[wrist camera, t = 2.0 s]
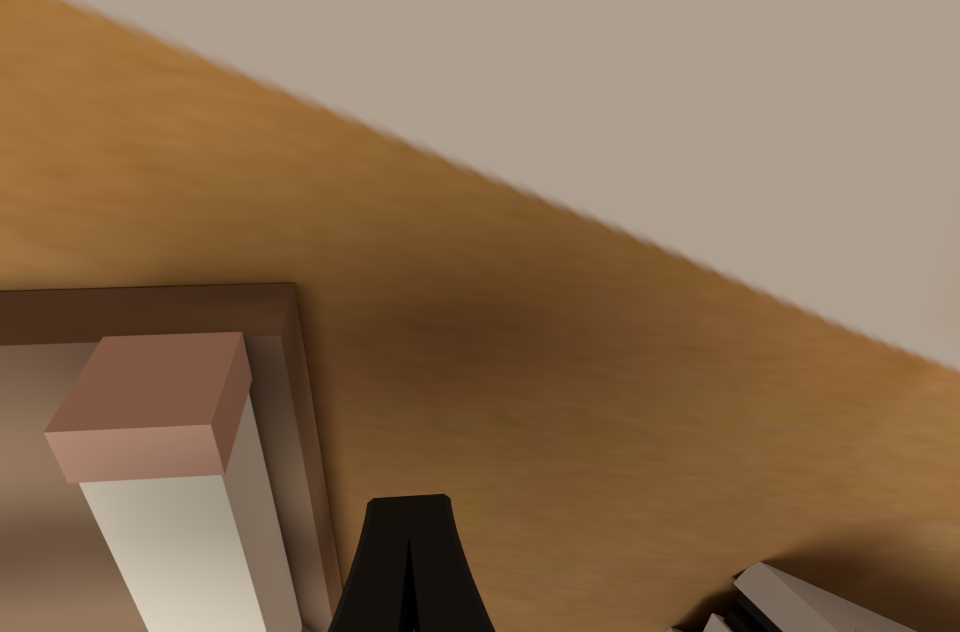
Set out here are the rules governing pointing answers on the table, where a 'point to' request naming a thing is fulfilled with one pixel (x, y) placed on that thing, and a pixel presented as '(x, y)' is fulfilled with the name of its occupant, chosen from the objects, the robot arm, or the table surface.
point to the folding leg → (179, 481)
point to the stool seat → (63, 506)
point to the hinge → (794, 607)
